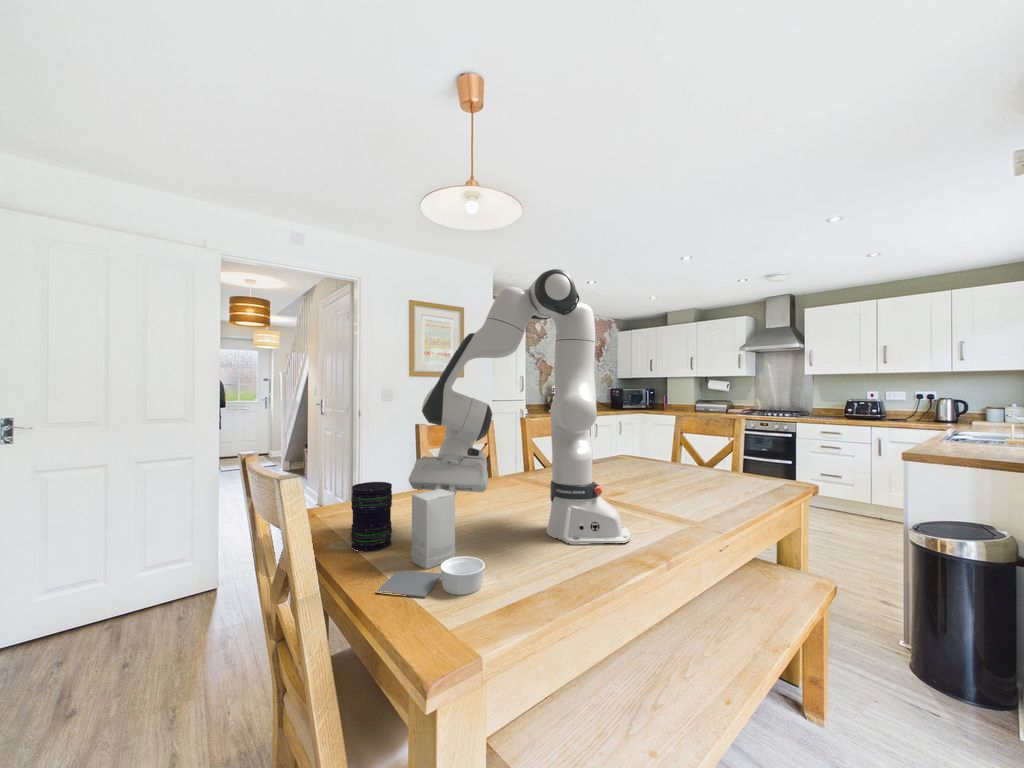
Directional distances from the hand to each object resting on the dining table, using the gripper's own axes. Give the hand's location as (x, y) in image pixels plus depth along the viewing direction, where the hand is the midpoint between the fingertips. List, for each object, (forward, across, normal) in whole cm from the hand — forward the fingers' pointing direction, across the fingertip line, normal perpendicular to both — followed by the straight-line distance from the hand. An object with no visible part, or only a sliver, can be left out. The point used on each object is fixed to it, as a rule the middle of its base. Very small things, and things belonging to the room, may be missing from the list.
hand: (442, 503), depth 103 cm
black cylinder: (+8, -19, +9) cm, 22 cm away
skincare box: (+13, 0, +4) cm, 13 cm away
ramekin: (+20, +10, -4) cm, 23 cm away
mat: (+21, 0, -5) cm, 21 cm away
